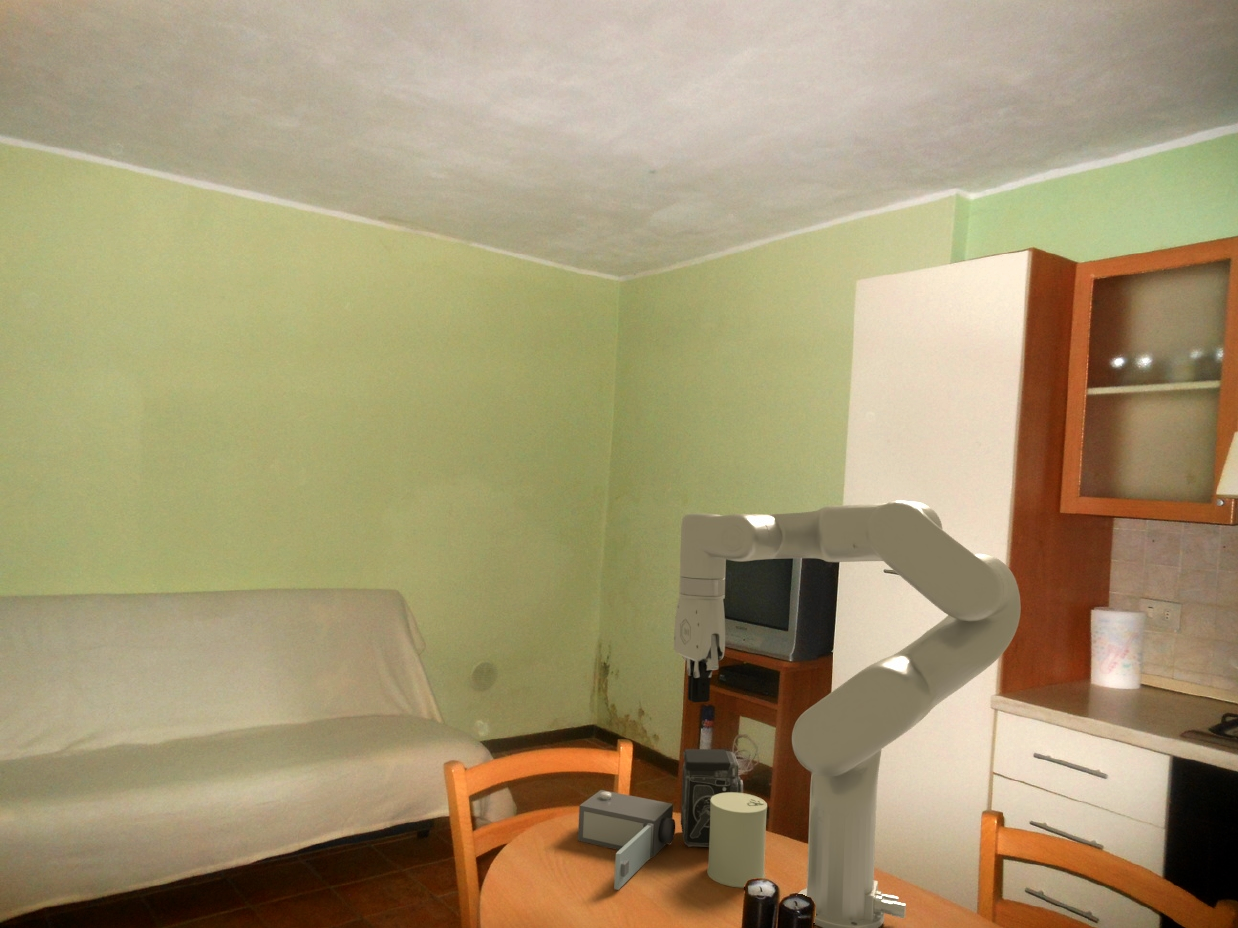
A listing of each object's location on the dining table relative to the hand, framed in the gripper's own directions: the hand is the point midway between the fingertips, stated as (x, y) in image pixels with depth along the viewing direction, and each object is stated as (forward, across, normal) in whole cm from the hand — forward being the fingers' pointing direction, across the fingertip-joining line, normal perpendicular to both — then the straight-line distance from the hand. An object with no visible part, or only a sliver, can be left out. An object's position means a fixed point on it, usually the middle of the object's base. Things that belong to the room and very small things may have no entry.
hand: (698, 700), depth 139 cm
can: (+27, +4, +6) cm, 28 cm away
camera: (+27, -9, +8) cm, 30 cm away
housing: (+27, -14, -6) cm, 31 cm away
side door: (+27, -1, -10) cm, 28 cm away
